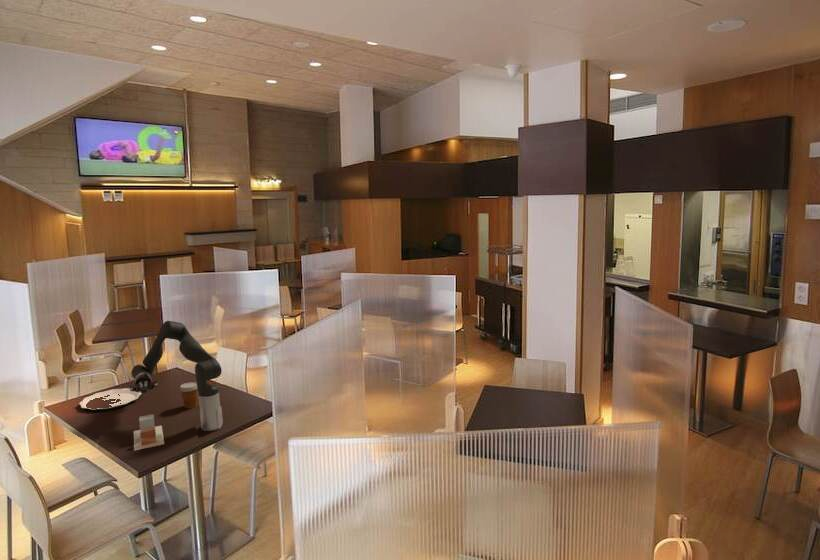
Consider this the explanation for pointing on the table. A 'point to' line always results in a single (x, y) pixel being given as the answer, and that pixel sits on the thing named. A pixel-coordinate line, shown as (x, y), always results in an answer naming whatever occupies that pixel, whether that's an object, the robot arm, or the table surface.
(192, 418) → the table surface
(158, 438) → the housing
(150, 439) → the block
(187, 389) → the disposable coffee cup
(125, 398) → the plate
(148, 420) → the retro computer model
